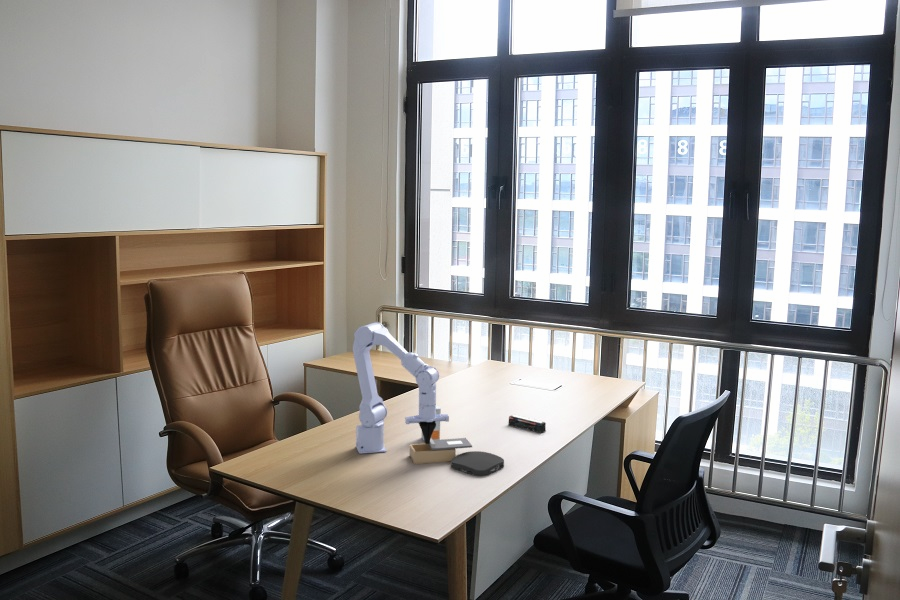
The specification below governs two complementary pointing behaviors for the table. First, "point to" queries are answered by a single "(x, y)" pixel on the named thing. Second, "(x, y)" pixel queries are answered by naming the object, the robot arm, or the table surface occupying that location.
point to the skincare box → (436, 431)
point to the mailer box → (430, 454)
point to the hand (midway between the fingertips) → (426, 443)
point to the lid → (449, 444)
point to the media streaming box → (477, 463)
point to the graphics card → (527, 423)
